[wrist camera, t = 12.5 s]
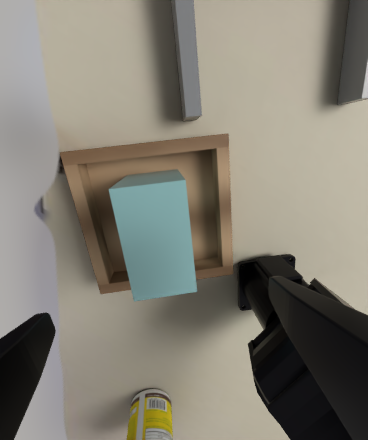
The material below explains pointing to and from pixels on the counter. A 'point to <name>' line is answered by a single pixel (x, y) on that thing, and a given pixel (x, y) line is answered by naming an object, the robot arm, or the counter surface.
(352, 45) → the bay
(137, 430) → the supplement bottle
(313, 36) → the counter surface
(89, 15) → the counter surface
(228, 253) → the tray
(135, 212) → the tall aqua prism
